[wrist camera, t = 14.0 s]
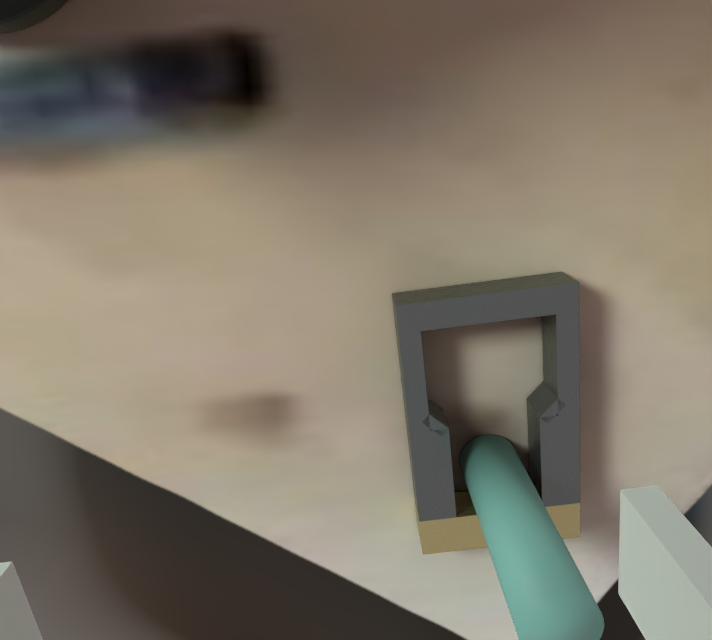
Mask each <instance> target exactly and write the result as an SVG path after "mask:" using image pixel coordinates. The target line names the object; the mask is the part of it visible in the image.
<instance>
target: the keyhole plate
mask: <svg viewBox="0 0 712 640" xmlns="http://www.w3.org/2000/svg"><path fill="white" fill-rule="evenodd" d="M392 300H393V309H394V318H395V327H396V336H397V345H398V353H399V362H400V371H401V380H402V389H403V398H404V407H405V416H406V425H407V434H408V442H409V451H410V460H411V469H412V478H413V487H414V496H415V505H416V514H417V523H418V530H419V536H420V542H421V547H422V553H423V554H432V553H440V552H449V551H458V550H466V549H475V548H484V547H488V546H487V543H486V540H485V537H484V534H483V531H482V528H481V526H480V523H479V520H478V517H477V514H476V511H475V508H474V505H473V502H472V499H471V496H470V493H469V491H465V492H457V493H454V482H453V471H452V459H451V448H450V436H449V427H448V425H447V422H446V419H445V416H444V413H443V410H442V409H441V408H440V407H439V406H437V405H436V404H434V403H433V402H432V401H430V400H429V399H427V390H426V380H425V370H424V359H423V349H422V339H421V331H427V330H435V329H443V328H451V327H459V326H467V325H475V324H483V323H491V322H499V321H507V320H515V319H523V318H531V317H539V316H542V339H543V375H544V381H543V382H542V383H541V384H540V385H539V386H538V387H537V388H536V390H535V391H534V392H533V393H532V394H531V395H530V396H529V397H528V398H527V417H528V444H529V470H530V479H531V481H532V483H533V485H534V487H535V488H536V490H537V492H538V494H539V496H540V498H541V500H542V502H543V504H544V505H545V507H546V509H547V511H548V513H549V515H550V517H551V519H552V521H553V522H554V524H555V526H556V528H557V530H558V532H559V534H560V536H561V538H571V537H579V536H580V405H579V282H577V281H576V280H574V279H573V278H571V277H570V276H568V275H566V274H565V273H563V272H556V273H548V274H540V275H533V276H525V277H517V278H509V279H501V280H493V281H485V282H478V283H470V284H462V285H454V286H446V287H438V288H430V289H423V290H415V291H407V292H399V293H392Z"/></svg>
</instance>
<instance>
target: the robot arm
mask: <svg viewBox="0 0 712 640" xmlns="http://www.w3.org/2000/svg"><path fill="white" fill-rule="evenodd" d="M66 1H67V0H0V33H5V32H11V31H16V30H20V29H23V28H26V27H29V26H32V25H34V24H36V23H38V22H40V21H42V20H44V19H45V18H47V17H49V16H50V15H51V14H53V13H54V12H55V11H57V10H58V9H59V8H60V7H61V6H62V5H63V4H64V3H65V2H66ZM618 593H619V595H620V597H621V598H622V600H623V602H624V604H625V605H626V607H627V608H628V610H629V612H630V613H631V615H632V617H633V619H634V620H635V622H636V624H637V626H638V627H639V629H640V630H641V632H642V634H643V636H644V637H645V639H646V640H712V547H711V546H710V545H709V544H708V543H707V542H706V540H705V539H704V538H703V537H702V536H701V535H700V534H699V532H697V530H696V529H695V528H694V527H693V526H692V524H691V523H690V522H689V521H688V520H687V519H686V518H685V517H684V515H683V514H682V513H681V512H680V511H679V510H678V509H677V507H676V506H675V505H674V504H673V503H672V502H671V501H670V499H669V498H668V497H667V496H666V495H665V494H664V493H663V491H662V490H661V489H660V488H659V487H658V486H657V485H655V486H646V487H638V488H630V489H621V490H620V539H619V592H618ZM0 640H42V637H41V634H40V632H39V629H38V626H37V624H36V621H35V619H34V616H33V614H32V611H31V608H30V606H29V603H28V601H27V598H26V596H25V593H24V591H23V588H22V586H21V583H20V580H19V578H18V575H17V573H16V570H15V568H14V565H13V562H5V563H0Z"/></svg>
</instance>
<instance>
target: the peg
mask: <svg viewBox="0 0 712 640" xmlns="http://www.w3.org/2000/svg"><path fill="white" fill-rule="evenodd" d="M460 466H461V469H462V472H463V475H464V478H465V481H466V484H467V487H468V490H469V493H470V496H471V499H472V502H473V505H474V508H475V511H476V514H477V517H478V520H479V523H480V526H481V528H482V531H483V534H484V537H485V540H486V543H487V546H488V549H489V552H490V555H491V558H492V561H493V564H494V567H495V570H496V573H497V576H498V579H499V582H500V584H501V587H502V590H503V593H504V596H505V599H506V602H507V605H508V608H509V611H510V614H511V617H512V620H513V623H514V626H515V629H516V632H517V635H518V638H519V640H599V639H600V638H601V635H602V633H603V629H604V620H603V616H602V613H601V611H600V610H599V608H598V606H597V604H596V602H595V600H594V598H593V596H592V594H591V592H590V590H589V589H588V587H587V585H586V583H585V581H584V579H583V577H582V575H581V573H580V572H579V570H578V568H577V566H576V564H575V562H574V560H573V558H572V556H571V555H570V553H569V551H568V549H567V547H566V545H565V543H564V541H563V539H562V538H561V536H560V534H559V532H558V530H557V528H556V526H555V524H554V522H553V521H552V519H551V517H550V515H549V513H548V511H547V509H546V507H545V505H544V504H543V502H542V500H541V498H540V496H539V494H538V492H537V490H536V488H535V487H534V485H533V483H532V481H531V479H530V477H529V475H528V473H527V471H526V470H525V468H524V466H523V464H522V462H521V460H520V458H519V456H518V454H517V453H516V451H515V449H514V447H513V445H512V444H511V443H510V442H509V441H508V440H507V439H505V438H503V437H501V436H498V435H491V434H490V435H482V436H479V437H477V438H475V439H473V440H471V441H470V442H469V443H468V444H467V445H466V446H465V447H464V449H463V450H462V453H461V456H460Z"/></svg>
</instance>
